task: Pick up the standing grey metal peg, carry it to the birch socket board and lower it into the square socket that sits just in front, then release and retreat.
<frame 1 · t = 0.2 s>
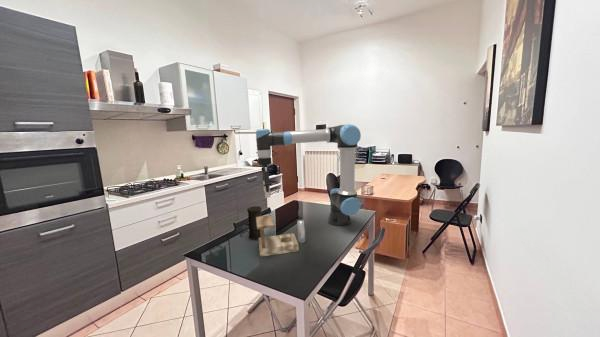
hand: (266, 194, 139), 27 cm above the table, fingers open, 13 cm apart
peg: (301, 241, 140), on the table
container: (256, 237, 148), on the table
socket station: (278, 247, 133), on the table
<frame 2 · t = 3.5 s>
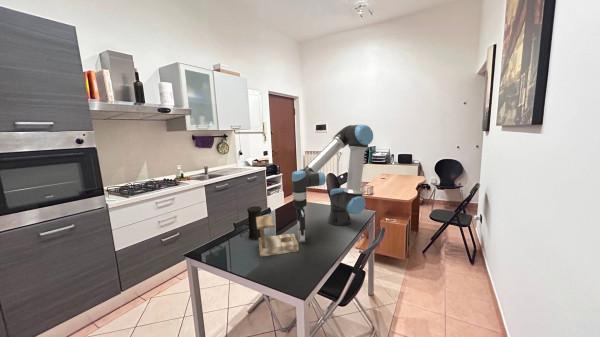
hand: (301, 238, 140), 2 cm above the table, fingers closed on peg, 4 cm apart
peg: (301, 241, 140), on the table, touching gripper
everything else where it was.
when the fingers open (5 cm above the table, at t = 7.3 s): peg stays where it is, resting in socket station.
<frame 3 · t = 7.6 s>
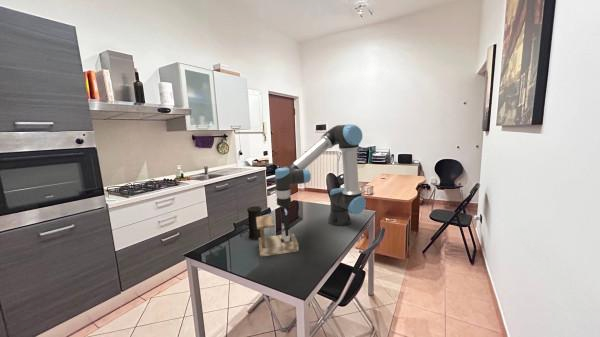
hand: (285, 237, 133), 5 cm above the table, fingers open, 8 cm apart
peg: (286, 246, 134), resting in socket station
everything else where it was.
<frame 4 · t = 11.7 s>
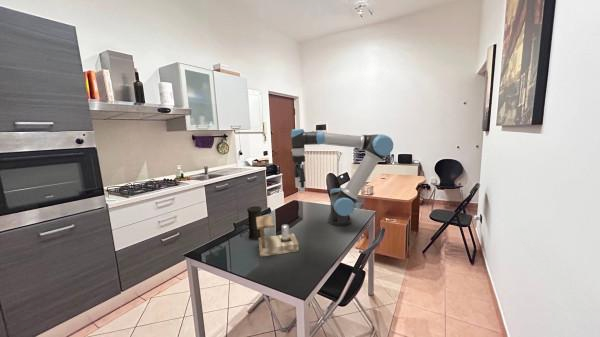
hand: (300, 190, 149), 27 cm above the table, fingers open, 13 cm apart
nothing on the table moved.
at the end: peg 0.1 cm from the target spot on the socket station, point 0.0 cm above the socket station's base; peg tilted 0°; the gripper is holding nothing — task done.
